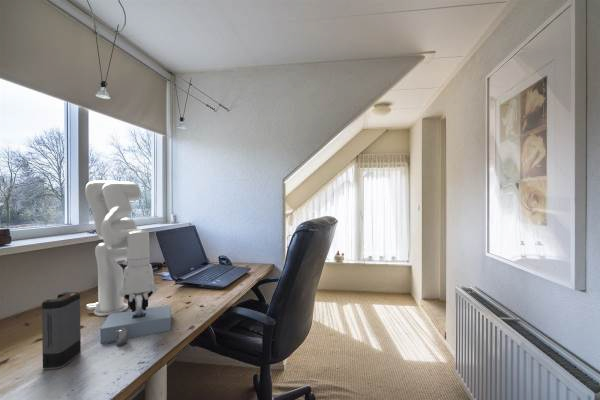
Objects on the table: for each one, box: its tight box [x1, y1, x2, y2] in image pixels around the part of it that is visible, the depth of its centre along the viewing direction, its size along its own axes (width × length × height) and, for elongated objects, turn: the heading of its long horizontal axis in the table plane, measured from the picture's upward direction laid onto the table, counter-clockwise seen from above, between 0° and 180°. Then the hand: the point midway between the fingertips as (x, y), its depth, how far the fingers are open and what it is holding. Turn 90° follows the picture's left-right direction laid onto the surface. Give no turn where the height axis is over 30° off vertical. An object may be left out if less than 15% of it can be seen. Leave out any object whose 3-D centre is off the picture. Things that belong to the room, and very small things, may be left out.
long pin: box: [134, 293, 144, 318], centre depth 107 cm, size 3×3×13 cm
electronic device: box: [41, 291, 82, 370], centre depth 86 cm, size 9×6×20 cm, turn 5°
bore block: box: [99, 304, 172, 344], centre depth 107 cm, size 22×14×5 cm, turn 114°
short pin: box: [115, 328, 128, 348], centre depth 95 cm, size 3×3×5 cm
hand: (139, 309), depth 107 cm, fingers closed on long pin, 3 cm apart
